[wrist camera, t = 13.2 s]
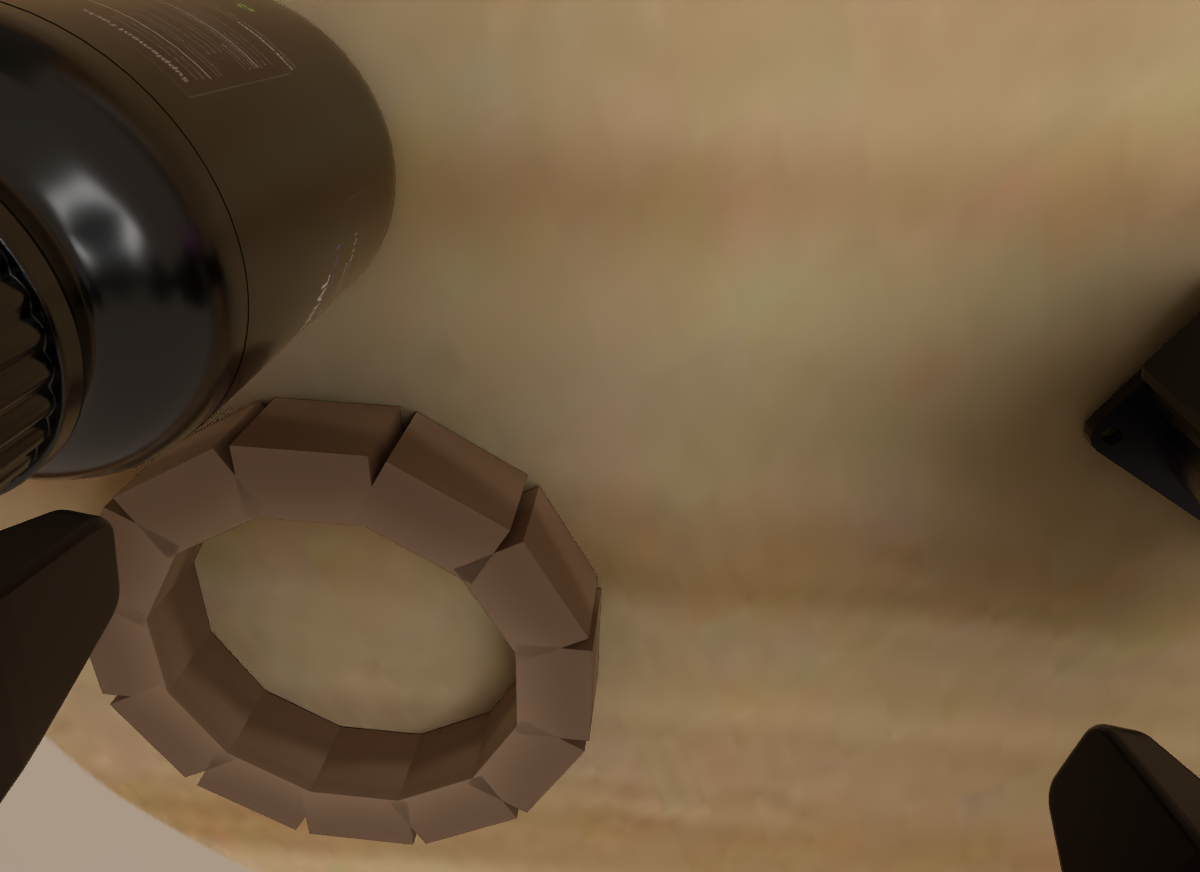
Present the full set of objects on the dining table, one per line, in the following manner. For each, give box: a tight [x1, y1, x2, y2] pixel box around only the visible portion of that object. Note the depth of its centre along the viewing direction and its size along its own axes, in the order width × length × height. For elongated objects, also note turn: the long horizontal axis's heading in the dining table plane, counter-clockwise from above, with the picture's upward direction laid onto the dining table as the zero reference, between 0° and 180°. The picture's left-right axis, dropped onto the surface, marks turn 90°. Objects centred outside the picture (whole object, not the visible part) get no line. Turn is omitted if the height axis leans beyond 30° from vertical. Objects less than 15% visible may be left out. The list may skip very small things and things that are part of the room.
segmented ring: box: [90, 398, 601, 845], centre depth 24 cm, size 14×14×2 cm
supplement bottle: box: [0, 0, 395, 495], centre depth 14 cm, size 7×7×12 cm
